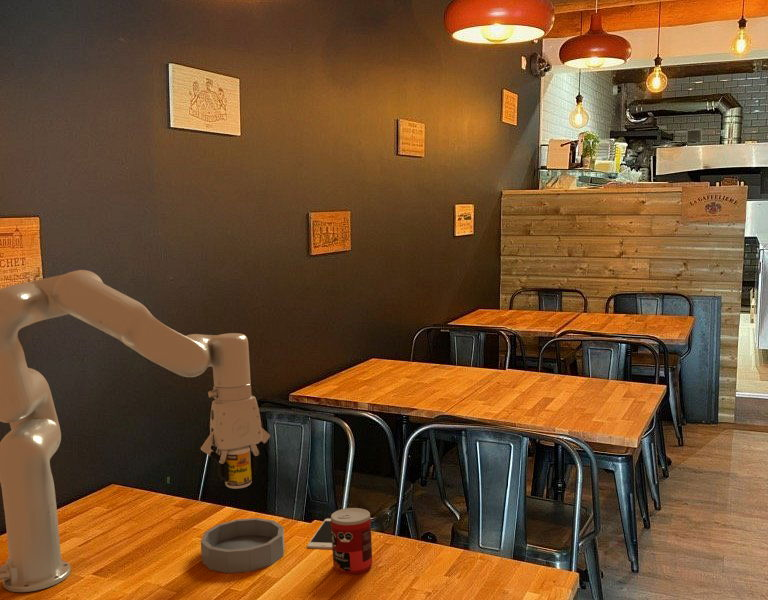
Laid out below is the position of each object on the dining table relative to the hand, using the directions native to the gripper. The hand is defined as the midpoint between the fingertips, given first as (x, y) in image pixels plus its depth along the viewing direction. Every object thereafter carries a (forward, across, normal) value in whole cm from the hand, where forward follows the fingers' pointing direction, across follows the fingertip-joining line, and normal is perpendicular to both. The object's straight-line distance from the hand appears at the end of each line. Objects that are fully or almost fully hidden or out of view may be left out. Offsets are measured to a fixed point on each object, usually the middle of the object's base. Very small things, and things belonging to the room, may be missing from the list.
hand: (238, 475), depth 160 cm
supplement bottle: (+2, 0, 0) cm, 2 cm away
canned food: (+18, +15, -20) cm, 31 cm away
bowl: (+17, 0, 0) cm, 17 cm away
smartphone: (+18, +20, -3) cm, 27 cm away
